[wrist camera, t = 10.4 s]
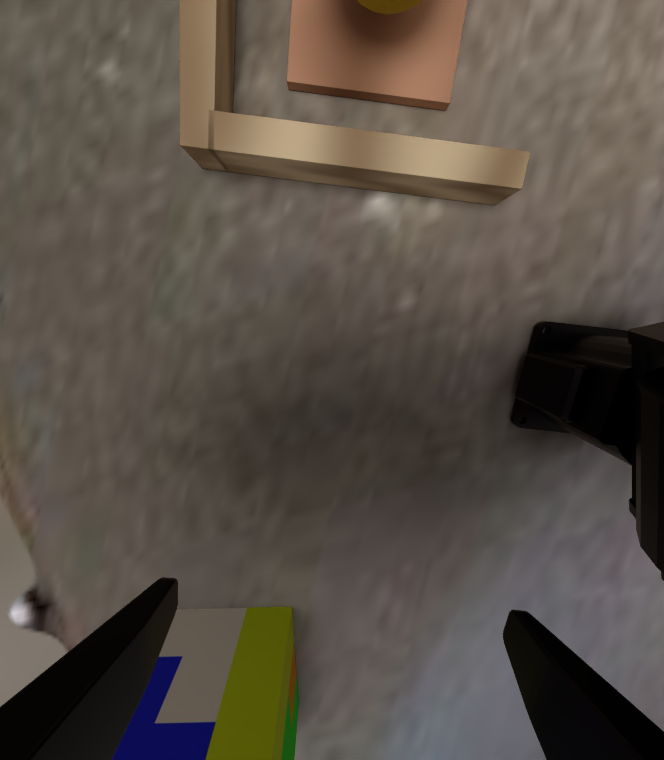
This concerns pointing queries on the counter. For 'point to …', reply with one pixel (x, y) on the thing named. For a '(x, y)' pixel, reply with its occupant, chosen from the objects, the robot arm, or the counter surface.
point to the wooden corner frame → (346, 79)
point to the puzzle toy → (219, 689)
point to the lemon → (389, 5)
